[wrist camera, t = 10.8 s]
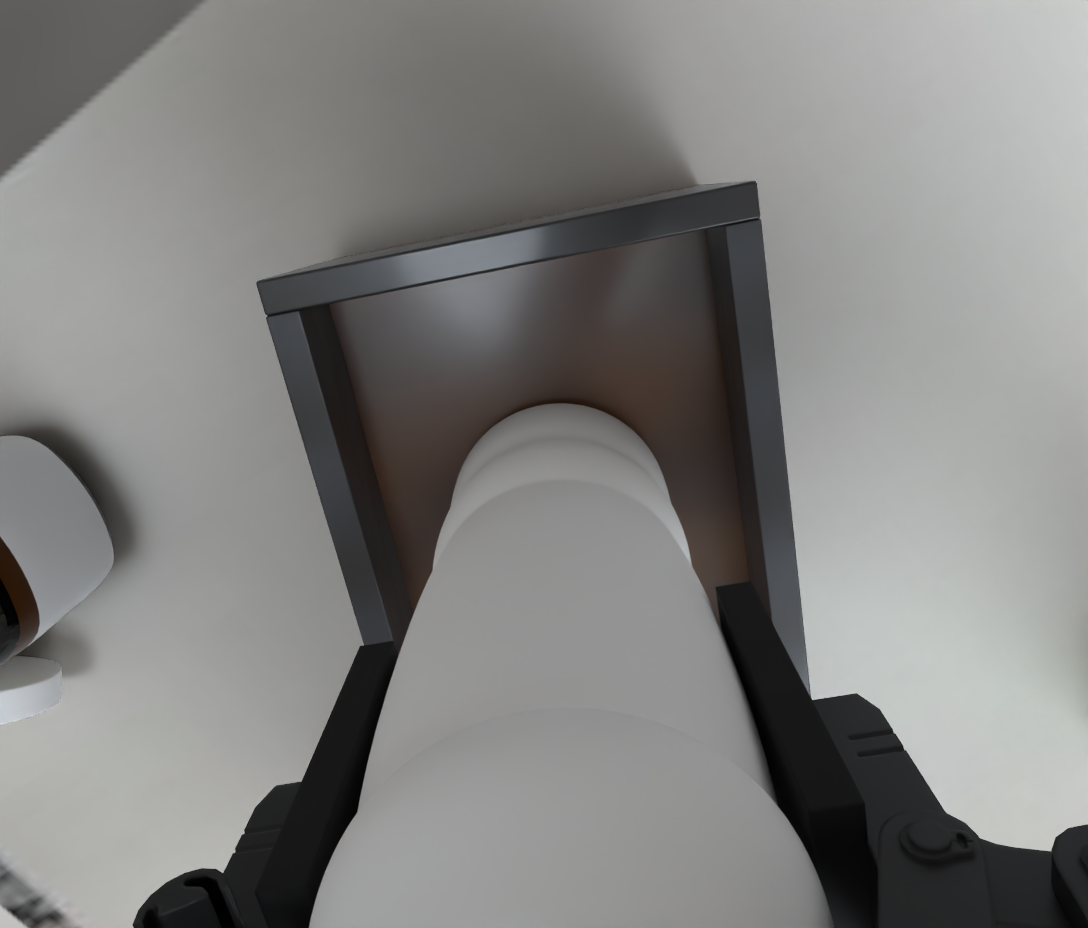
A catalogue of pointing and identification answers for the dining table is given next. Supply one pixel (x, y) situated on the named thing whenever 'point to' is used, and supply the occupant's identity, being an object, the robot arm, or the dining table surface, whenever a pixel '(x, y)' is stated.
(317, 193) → the dining table surface
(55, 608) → the spread jar
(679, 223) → the open rectangular box
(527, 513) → the water bottle
